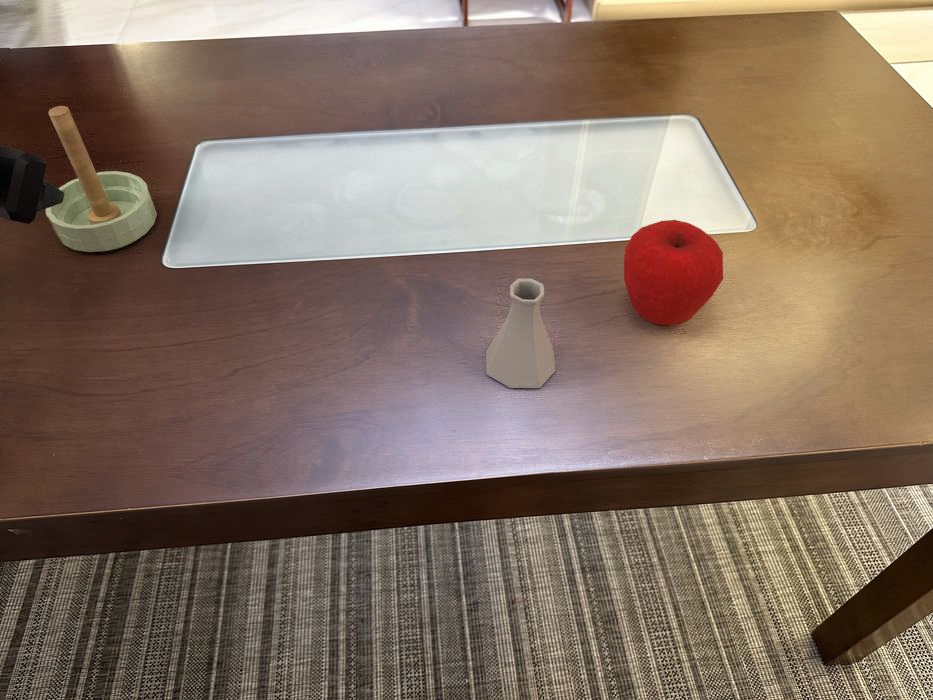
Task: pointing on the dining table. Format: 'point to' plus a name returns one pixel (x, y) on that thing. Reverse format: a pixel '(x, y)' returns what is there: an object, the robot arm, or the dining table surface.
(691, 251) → the apple
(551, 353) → the flask
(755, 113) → the dining table surface
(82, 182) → the tan wooden rod
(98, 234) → the bowl
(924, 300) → the dining table surface
